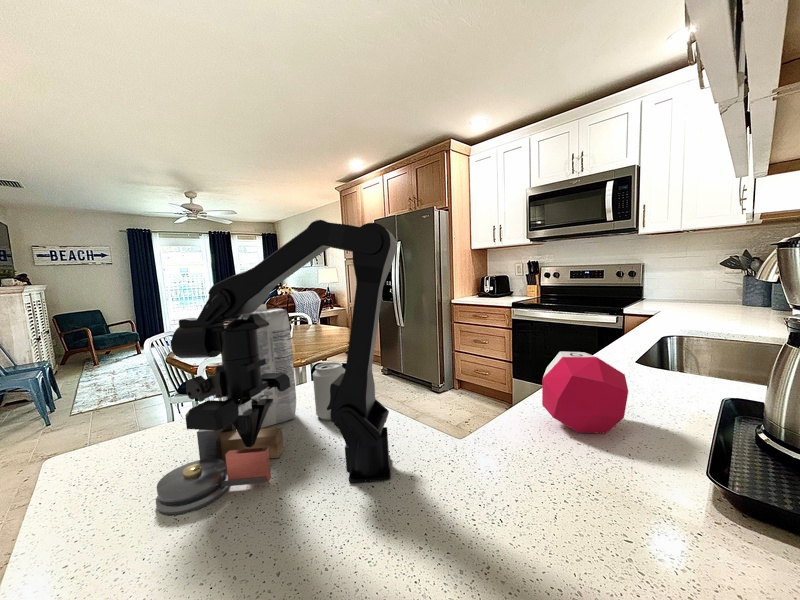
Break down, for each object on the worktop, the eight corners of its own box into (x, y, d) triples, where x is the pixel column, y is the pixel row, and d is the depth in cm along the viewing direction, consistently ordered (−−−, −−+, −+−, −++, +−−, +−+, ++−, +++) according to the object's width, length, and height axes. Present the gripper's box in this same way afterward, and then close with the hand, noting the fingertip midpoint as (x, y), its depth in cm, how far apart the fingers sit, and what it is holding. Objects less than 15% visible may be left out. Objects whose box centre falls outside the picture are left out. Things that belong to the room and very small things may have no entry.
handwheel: (279, 464, 56) (276, 435, 55) (258, 499, 47) (255, 465, 46) (182, 472, 55) (179, 443, 55) (142, 510, 46) (138, 475, 46)
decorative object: (565, 365, 55) (548, 330, 69) (535, 434, 61) (525, 389, 75) (660, 392, 53) (623, 350, 67) (621, 461, 58) (594, 409, 72)
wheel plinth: (240, 472, 56) (239, 466, 56) (210, 512, 46) (209, 505, 46) (182, 477, 55) (181, 471, 55) (139, 518, 46) (138, 511, 46)
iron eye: (238, 447, 64) (234, 412, 64) (218, 469, 57) (214, 430, 57) (222, 448, 64) (218, 413, 64) (201, 471, 57) (196, 431, 56)
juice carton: (300, 419, 76) (290, 302, 74) (251, 433, 70) (239, 307, 68) (289, 407, 83) (280, 301, 82) (244, 420, 78) (233, 306, 76)
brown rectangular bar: (283, 447, 63) (282, 427, 63) (277, 457, 59) (275, 435, 59) (211, 453, 62) (209, 433, 62) (201, 463, 59) (199, 442, 59)
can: (335, 406, 83) (331, 359, 82) (355, 412, 78) (351, 362, 77) (309, 417, 77) (305, 366, 76) (330, 424, 72) (325, 370, 71)
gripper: (238, 345, 66) (245, 420, 67) (148, 372, 48) (161, 475, 49) (288, 344, 64) (295, 422, 65) (214, 372, 45) (225, 481, 46)
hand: (250, 446), depth 56 cm, fingers closed
